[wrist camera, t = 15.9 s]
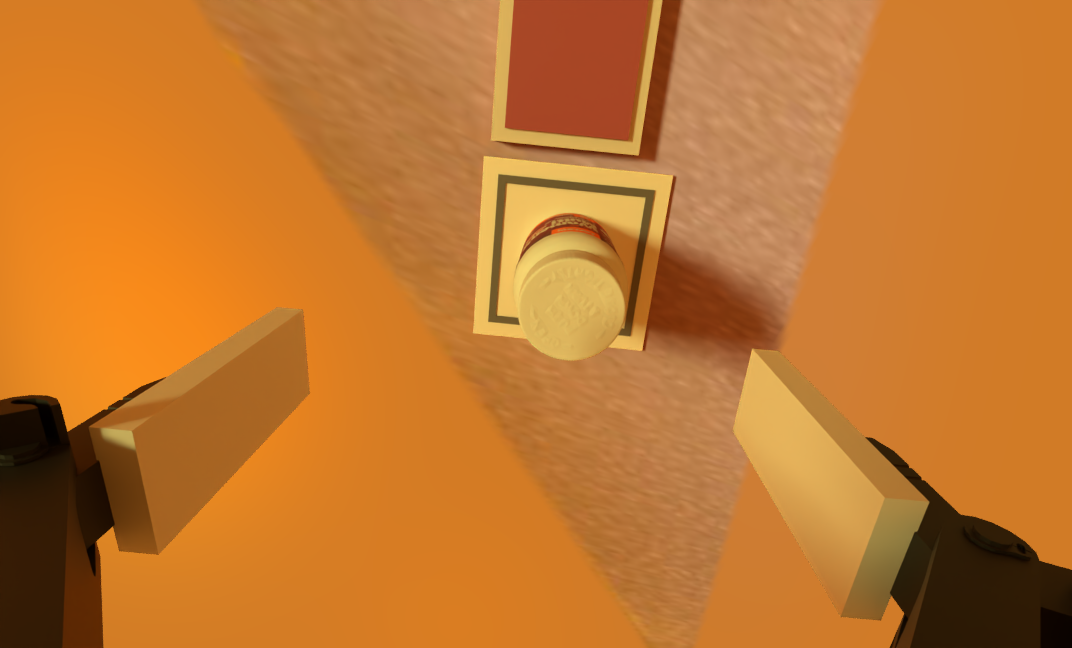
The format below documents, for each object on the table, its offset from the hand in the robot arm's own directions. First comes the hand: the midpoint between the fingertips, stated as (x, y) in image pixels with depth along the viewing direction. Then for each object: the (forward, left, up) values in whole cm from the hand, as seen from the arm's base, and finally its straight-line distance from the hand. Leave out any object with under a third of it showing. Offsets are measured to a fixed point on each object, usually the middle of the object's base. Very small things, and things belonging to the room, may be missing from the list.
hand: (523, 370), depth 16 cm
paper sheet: (+1, +2, -21) cm, 21 cm away
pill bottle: (+1, +2, -21) cm, 21 cm away
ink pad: (-11, +1, -21) cm, 24 cm away
